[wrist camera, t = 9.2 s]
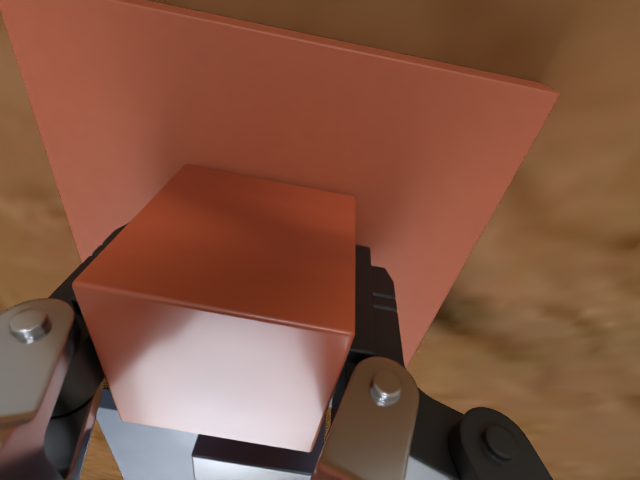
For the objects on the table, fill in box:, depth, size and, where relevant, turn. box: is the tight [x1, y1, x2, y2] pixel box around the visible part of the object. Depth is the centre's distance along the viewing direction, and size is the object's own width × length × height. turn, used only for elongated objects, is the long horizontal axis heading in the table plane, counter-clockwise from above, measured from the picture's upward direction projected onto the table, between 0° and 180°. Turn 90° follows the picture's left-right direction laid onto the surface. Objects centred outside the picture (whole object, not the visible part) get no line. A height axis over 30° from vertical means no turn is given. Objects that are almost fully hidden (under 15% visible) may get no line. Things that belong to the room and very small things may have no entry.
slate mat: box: [96, 388, 198, 480], centre depth 21 cm, size 12×11×1 cm
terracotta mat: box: [0, 0, 560, 368], centre depth 11 cm, size 12×11×1 cm
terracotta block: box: [72, 164, 356, 452], centre depth 8 cm, size 4×4×4 cm
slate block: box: [191, 415, 326, 480], centre depth 15 cm, size 4×4×4 cm
